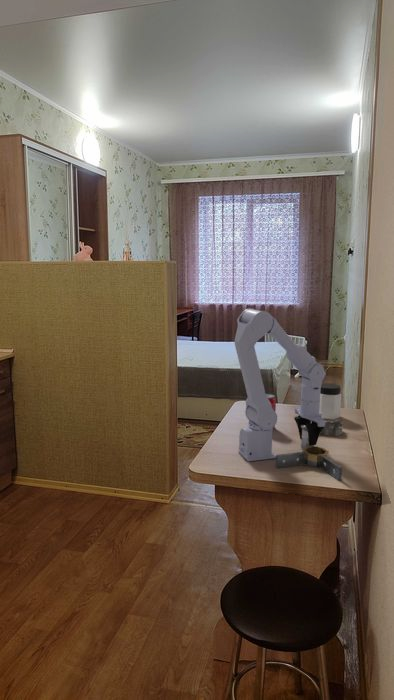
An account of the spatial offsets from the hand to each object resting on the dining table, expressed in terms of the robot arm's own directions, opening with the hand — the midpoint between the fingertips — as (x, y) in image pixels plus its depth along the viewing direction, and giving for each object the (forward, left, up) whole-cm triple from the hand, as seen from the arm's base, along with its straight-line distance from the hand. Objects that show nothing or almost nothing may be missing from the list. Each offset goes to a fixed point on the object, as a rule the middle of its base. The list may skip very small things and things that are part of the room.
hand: (308, 441), depth 156 cm
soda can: (-4, +22, -2) cm, 22 cm away
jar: (+25, +28, -2) cm, 38 cm away
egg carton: (+15, +13, -3) cm, 20 cm away
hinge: (-8, -15, -2) cm, 17 cm away
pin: (0, 0, -2) cm, 2 cm away
